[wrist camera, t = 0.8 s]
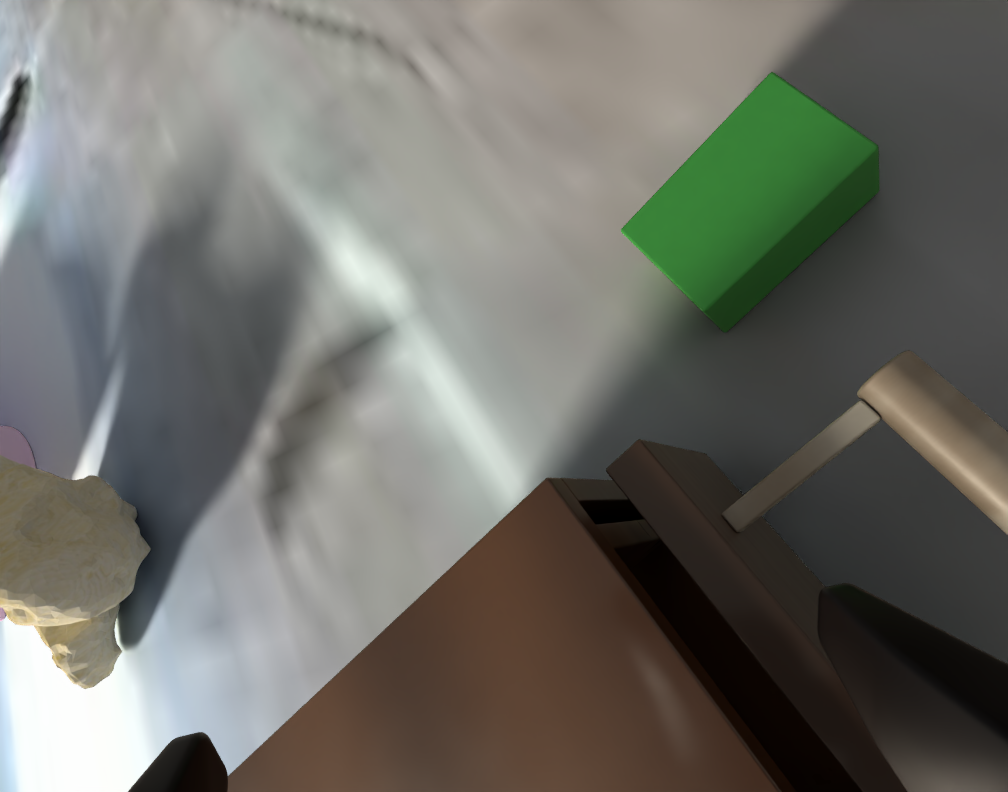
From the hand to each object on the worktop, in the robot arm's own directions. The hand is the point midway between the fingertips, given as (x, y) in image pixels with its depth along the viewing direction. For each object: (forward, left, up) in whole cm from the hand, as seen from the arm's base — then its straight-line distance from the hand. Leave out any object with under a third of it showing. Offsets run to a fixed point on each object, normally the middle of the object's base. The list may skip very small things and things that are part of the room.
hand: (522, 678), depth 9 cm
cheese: (+31, +22, -15) cm, 41 cm away
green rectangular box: (+6, -10, -14) cm, 19 cm away
